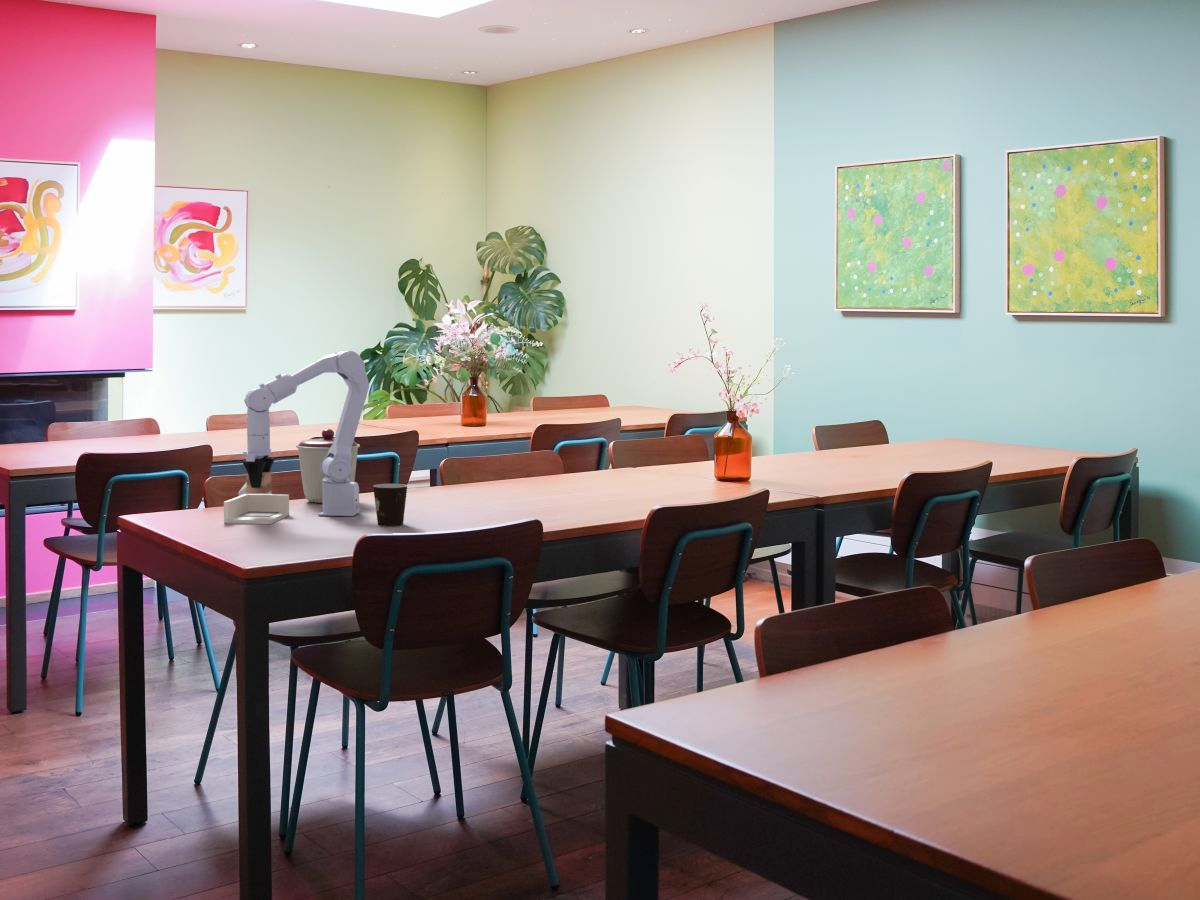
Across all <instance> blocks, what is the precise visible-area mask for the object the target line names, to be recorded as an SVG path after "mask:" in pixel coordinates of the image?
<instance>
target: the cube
mask: <svg viewBox="0 0 1200 900" xmlns="http://www.w3.org/2000/svg"><path fill="white" fill-rule="evenodd" d="M245 477H246V482H247V493H268V492H270V491H271V492H272V491H273V490H272V488H273V487H272V472H271V471H270V472H263V473H262V480H261V486H260V488H252V487H251V484H250V479H249V476H248V473H246V476H245Z"/></svg>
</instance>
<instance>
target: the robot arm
mask: <svg viewBox="0 0 1200 900" xmlns="http://www.w3.org/2000/svg"><path fill="white" fill-rule="evenodd" d="M365 364H366V362H364V360H363V359H362V358H361V356H360V355H359V354H358V353H357V352H356V351H353V350H337V351H335V352H334V353H331V354H327V355H325V356H323V357H321V358H319V359H317V360H316V361H314V362H312V363H310V364H309V365H307V366H306V367H303V368H302V369H299V370H297V372H295V373H293V374H291V375H290V374H288V373H283V374H281V373H278V374H275V378H273V379H271V380H270V381H268V382H265V383H262V382H261V383H260V384H259V385H258V386H259V388H253V389H250V390H248V392H247V394H246V395H245V398H244V400H243V401H244V404H245V406H246V407H247V411H246V413H247V415H246V416H247V417H246V436H247V439H246V442H247V443H246V445H247V446H246V447H247V450H244V451H242V454H243V455H245V459H244V460H242V464H243V466H244V468H245V470H246V472H247V473H246V474H248V476H249V479H250V484H251V487H252V488H260V486H261V480H262V473H263V472H271V470H272V467H273V464H274V462H275V457H271V456H272V449H271V436H270V435H271V429H270V427H271V426H270V425H271V424H270V423H271V422H270V421H271V419H270V408H271V406H272V404H277V403H278V402H281V401H283V400H284V399H286V398H288V397H290V396H291V395H293V394H295V393H296V392H297V388H298V387H299V386H300V385H302V384H304V383H307V382H308V381H310V380H313V379H314V378H316V377H318V376H320V375H322V374H324V373H328V374H331V373H337V374H338V375H339V376H340V377H341V378H342V379H343V381H344V382H345V384H346V386H347V387H348V390H347V394H346V398H345V401H344V403H343V407H342V411H341V414H340V417H339V421H338V423H337V424H338V425H337V428H336V431H335V434H334V437H333V438H334V442H333V444H332V446H331V447H330V449H329V451H328V454H327V456H326V457H325V458H324V459H323V461H322V463H321V471H322V473H323V474H324V475H325V476H324V479H323V480H322V481H323V482H322V487H323V503H322V511H320V512H319V513H317V516H332V517H336V516H338V517H340V516H341V517H353V516H355V515H358V514H359V513H360V512H361V510H360V487H359V483H358V482H357V481H354V482H350V479H349V478H348V477H349V476H350V474H351V458H352V453H351V448H352V444H353V441H355V437H356V433H357V431H358V426H359V423H360V421H361V420H360V419H361V416H362V413H363V410H364V406H365V402H366V398H367V395H368V392H369V388H370V383H369V379H368V375H367V371H366V365H365Z"/></svg>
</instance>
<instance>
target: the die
mask: <svg viewBox="0 0 1200 900" xmlns="http://www.w3.org/2000/svg"><path fill="white" fill-rule="evenodd" d="M237 493H238V496H241V495H243V494H273V493H272V491H270V492H268V493H247V481H246V482H245V483H244V484H243V485H242V487H241V488H240V490H239V491H238V492H237Z"/></svg>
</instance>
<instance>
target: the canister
mask: <svg viewBox="0 0 1200 900" xmlns="http://www.w3.org/2000/svg"><path fill="white" fill-rule="evenodd" d="M321 437H322V438H321ZM321 437H319V438H310V439H305V440H301V441H300V442H299V443H298V444H296V445H295V448H297V449H298V457H299V467H300V474H301V482H302V488H303V489H302V490H303V494H304V497H305V499H306V500H307V501H308V502H309V503H313V502H314V503H313V504H323V487H322V482H323V481H322V480H323V479H324V476H325V475H324V474H323V473H322V471H321V463H322V461H323V459H324V458H325V457H326V456H327V454H328V451H329V449H330V447H331V446H332V444H333V442H334V438H335V431H334V430H332V428H324V429H323V430H322V432H321ZM360 447H361V445H360V443H357V441H355V440H354V441H353V444H352V448H351V453H352V458H351V474H350V476H349V477H348V478H349V479H350V482H355V480H356V471H357V470H356V469H357V460H358V459H357V458H358V450H359V449H358V448H360Z"/></svg>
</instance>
